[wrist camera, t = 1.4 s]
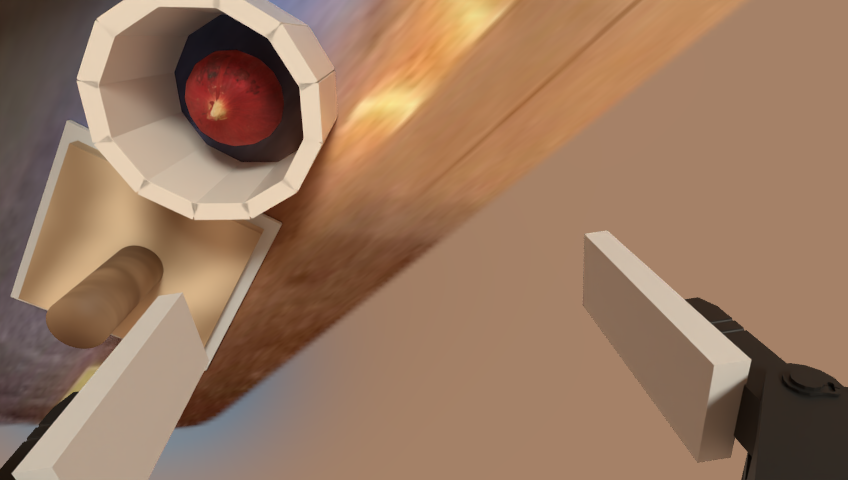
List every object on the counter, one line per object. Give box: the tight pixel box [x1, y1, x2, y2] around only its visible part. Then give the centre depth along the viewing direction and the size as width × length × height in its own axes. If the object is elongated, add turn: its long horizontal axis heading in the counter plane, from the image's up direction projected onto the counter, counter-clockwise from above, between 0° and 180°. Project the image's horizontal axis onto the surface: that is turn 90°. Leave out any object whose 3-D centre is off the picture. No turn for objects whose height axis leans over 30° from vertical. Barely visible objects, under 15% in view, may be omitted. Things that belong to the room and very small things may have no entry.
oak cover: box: [18, 140, 264, 349], centre depth 33 cm, size 14×14×9 cm
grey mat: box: [10, 120, 282, 371], centre depth 38 cm, size 16×16×1 cm
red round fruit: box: [185, 50, 284, 146], centre depth 30 cm, size 6×6×8 cm
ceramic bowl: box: [77, 0, 338, 220], centre depth 29 cm, size 12×12×10 cm
